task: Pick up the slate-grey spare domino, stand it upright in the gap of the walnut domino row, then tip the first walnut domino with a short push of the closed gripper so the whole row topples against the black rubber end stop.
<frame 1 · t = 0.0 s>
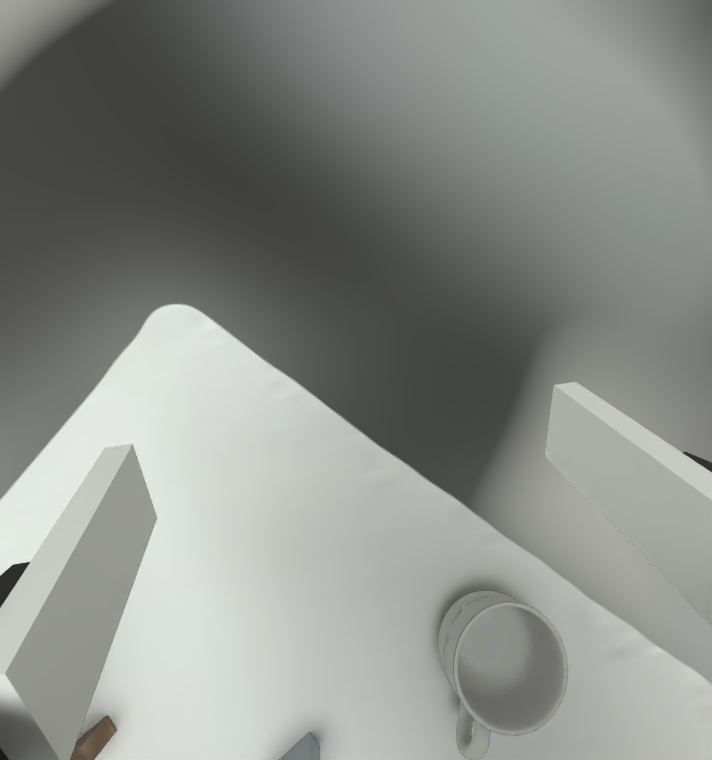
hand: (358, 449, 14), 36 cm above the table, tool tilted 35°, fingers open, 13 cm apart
domino 4: (88, 741, 42), on the table
teacup: (471, 649, 47), on the table
spare domino: (293, 758, 43), on the table
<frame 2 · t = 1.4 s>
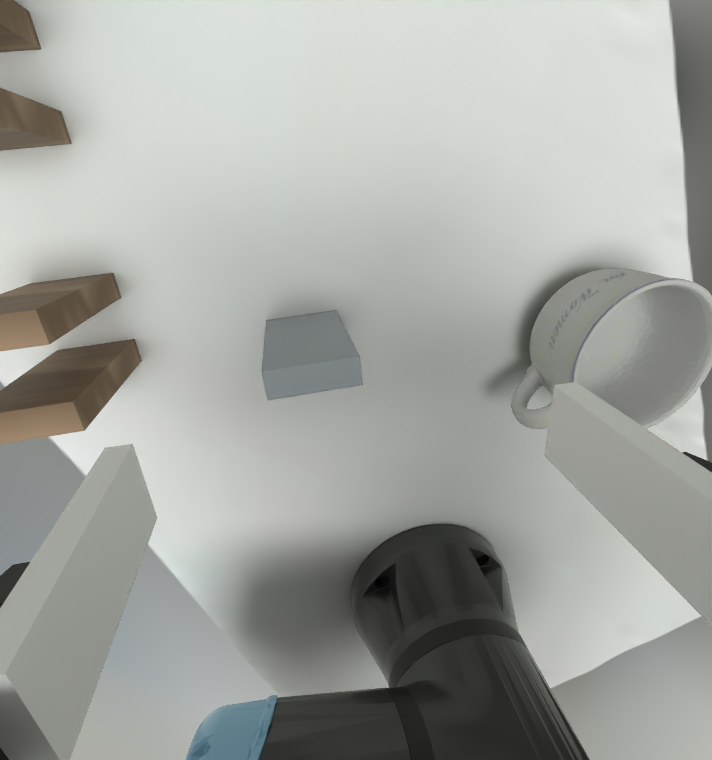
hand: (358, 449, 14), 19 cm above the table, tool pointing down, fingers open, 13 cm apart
domino 4: (19, 132, 25), on the table
domino 1: (100, 355, 30), on the table
domino 2: (76, 290, 28), on the table
teacup: (555, 336, 36), on the table
spare domino: (303, 326, 32), on the table
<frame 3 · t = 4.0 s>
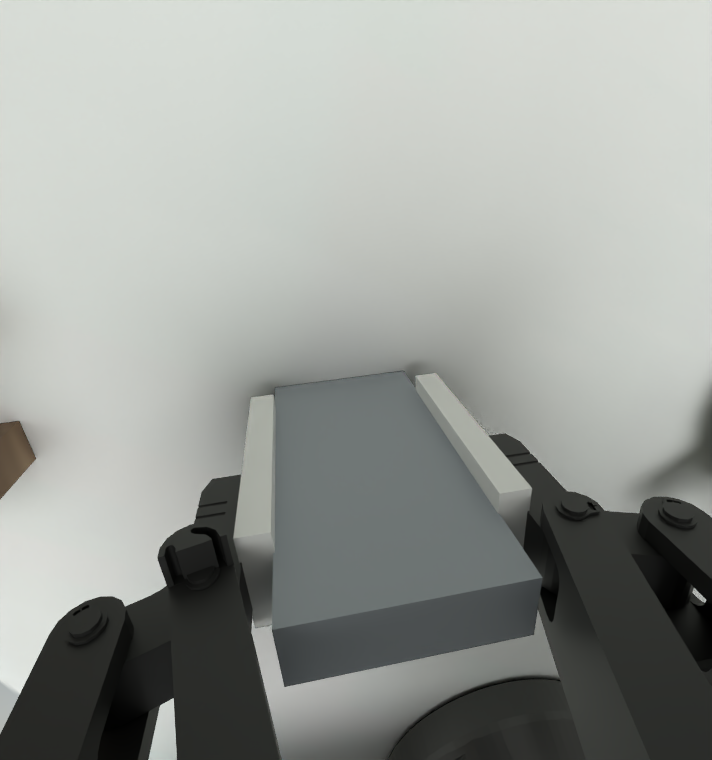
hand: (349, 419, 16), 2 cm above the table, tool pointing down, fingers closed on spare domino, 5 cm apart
spare domino: (342, 397, 17), on the table, touching gripper
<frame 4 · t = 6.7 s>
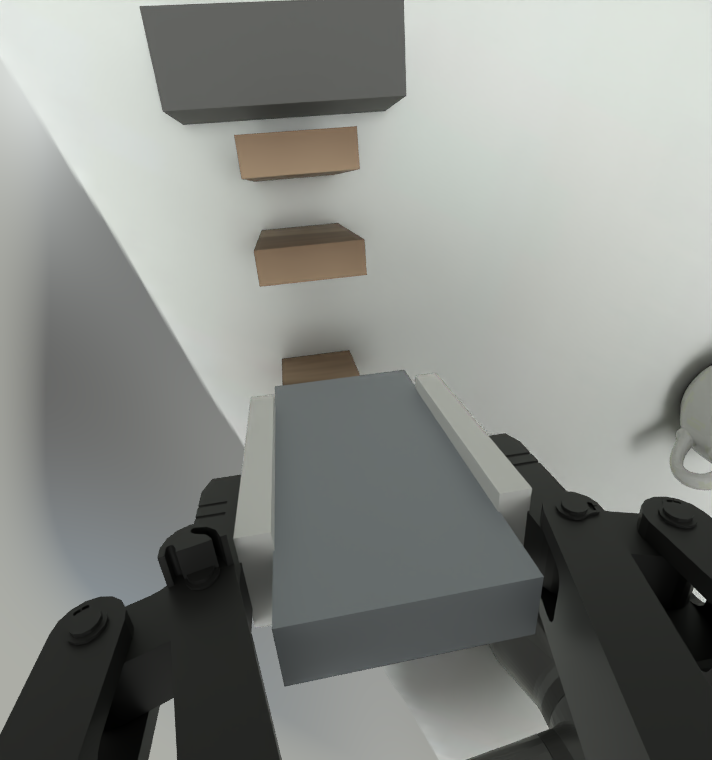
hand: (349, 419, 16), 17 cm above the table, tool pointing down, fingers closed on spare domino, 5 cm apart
domino 4: (301, 239, 29), on the table
domino 2: (317, 364, 33), on the table
teacup: (695, 400, 40), on the table
domino 5: (292, 164, 27), on the table
spare domino: (342, 396, 17), point 15 cm above the table, touching gripper
end stop: (281, 77, 25), on the table
when the fingers open (3 cm above the table, at t = 9.6 s): spare domino drops 2 cm, on the table.
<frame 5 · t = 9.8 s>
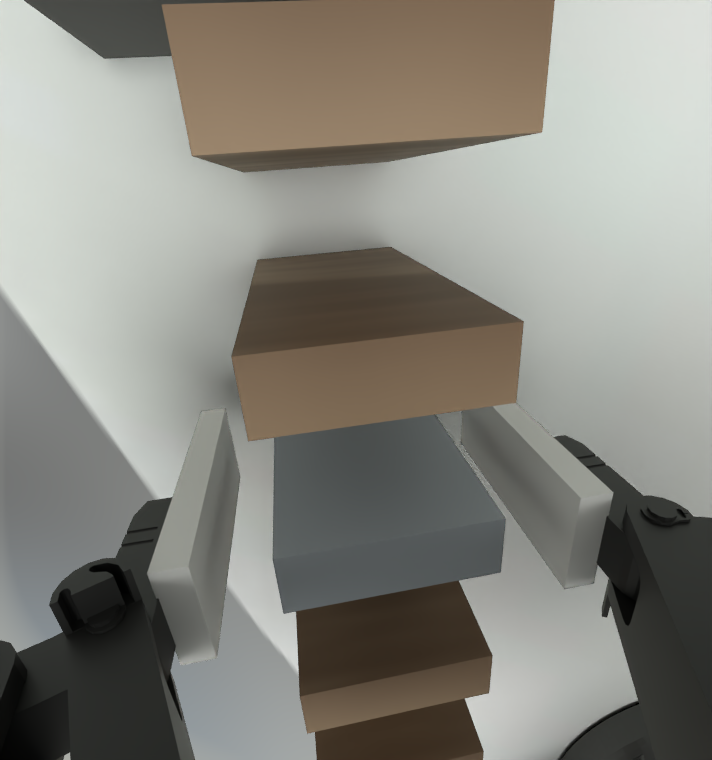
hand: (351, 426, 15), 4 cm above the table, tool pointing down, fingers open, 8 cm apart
domino 4: (327, 274, 17), on the table
domino 1: (352, 542, 22), on the table
domino 2: (346, 469, 20), on the table
domino 5: (314, 140, 15), on the table
spare domino: (337, 380, 19), on the table
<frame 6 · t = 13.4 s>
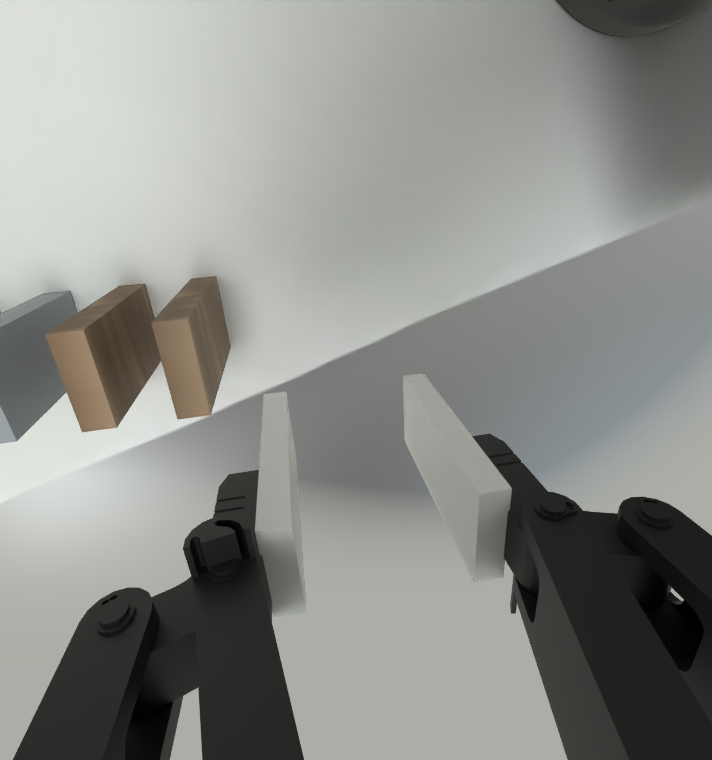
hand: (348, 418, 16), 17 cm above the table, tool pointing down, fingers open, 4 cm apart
domino 1: (211, 314, 30), on the table
domino 2: (142, 322, 29), on the table
spare domino: (70, 330, 29), on the table
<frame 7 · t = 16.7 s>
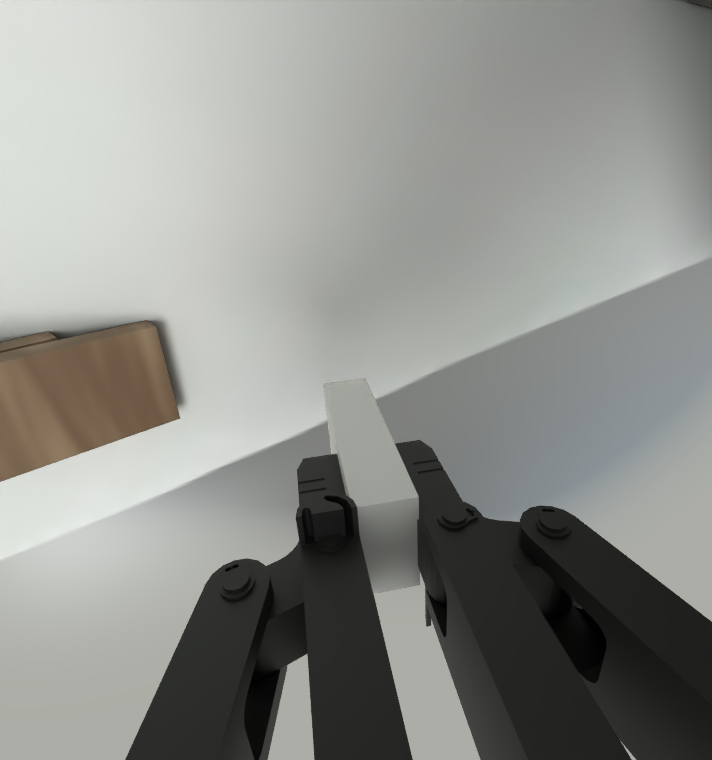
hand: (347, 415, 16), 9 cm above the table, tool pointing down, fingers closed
domino 1: (163, 370, 23), point 1 cm above the table, tilted 61°, touching domino 2
domino 2: (69, 381, 22), point 1 cm above the table, tilted 55°, touching domino 1, spare domino
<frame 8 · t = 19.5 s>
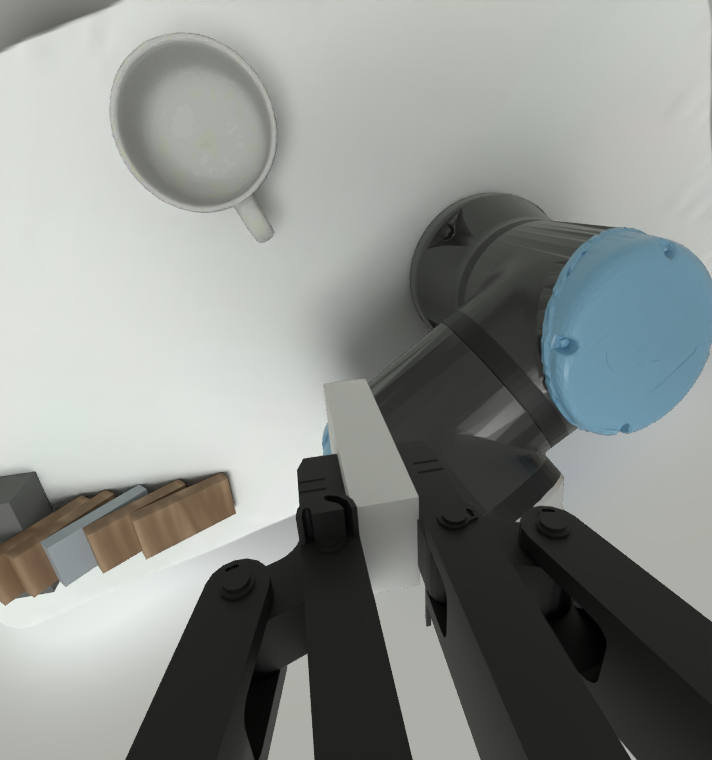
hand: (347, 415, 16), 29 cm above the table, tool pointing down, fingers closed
domino 4: (116, 509, 49), on the table, tilted 38°, touching domino 5, spare domino
domino 1: (228, 492, 51), point 1 cm above the table, tilted 60°, touching domino 2
domino 2: (187, 499, 50), point 1 cm above the table, tilted 53°, touching domino 1, spare domino
teacup: (220, 159, 38), on the table
domino 5: (92, 515, 49), point 1 cm above the table, tilted 38°, touching domino 4, end stop
spare domino: (148, 504, 50), point 1 cm above the table, tilted 45°, touching domino 2, domino 4
end stop: (36, 519, 49), on the table
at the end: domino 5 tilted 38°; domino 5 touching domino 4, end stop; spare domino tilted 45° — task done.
